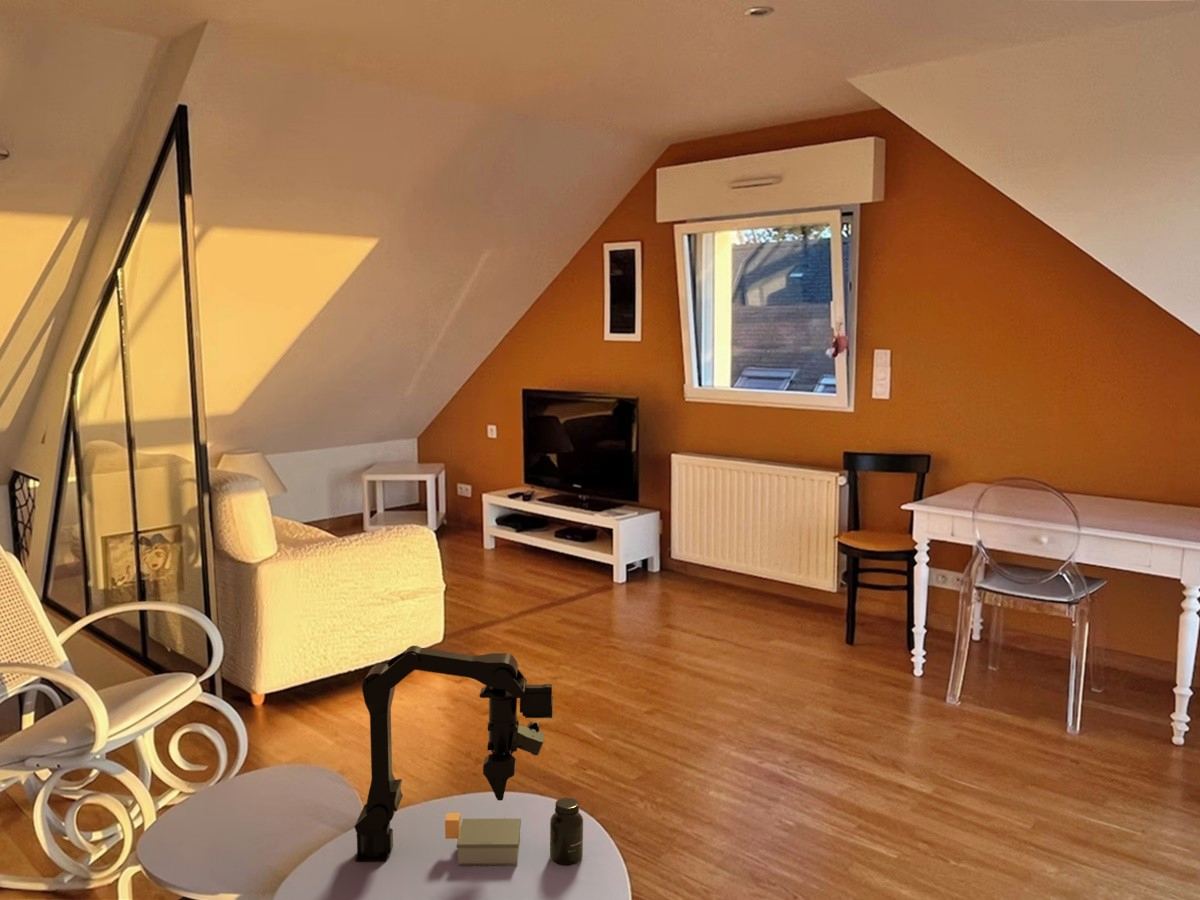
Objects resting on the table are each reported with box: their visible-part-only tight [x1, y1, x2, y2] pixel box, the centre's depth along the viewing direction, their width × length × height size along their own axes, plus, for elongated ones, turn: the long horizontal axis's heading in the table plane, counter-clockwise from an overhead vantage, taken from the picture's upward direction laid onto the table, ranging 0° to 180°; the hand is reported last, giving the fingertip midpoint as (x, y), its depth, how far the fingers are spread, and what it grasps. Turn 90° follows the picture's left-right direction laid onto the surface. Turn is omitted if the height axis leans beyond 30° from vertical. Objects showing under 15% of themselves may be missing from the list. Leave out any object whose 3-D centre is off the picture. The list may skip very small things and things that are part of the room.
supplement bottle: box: [549, 797, 584, 867], centre depth 195 cm, size 7×7×12 cm
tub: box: [457, 834, 521, 867], centre depth 197 cm, size 12×10×4 cm
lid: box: [444, 812, 522, 849], centre depth 196 cm, size 15×10×5 cm
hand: (501, 789), depth 195 cm, fingers open, 9 cm apart
